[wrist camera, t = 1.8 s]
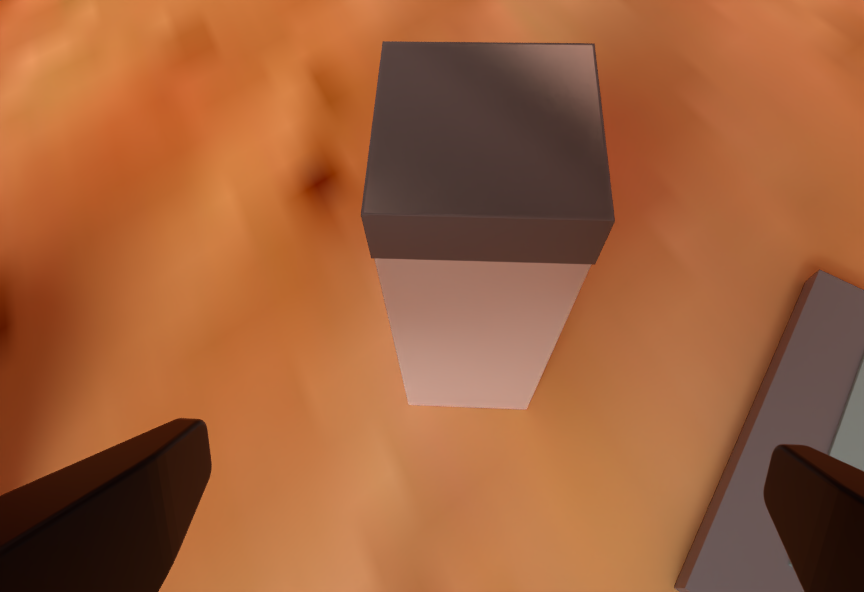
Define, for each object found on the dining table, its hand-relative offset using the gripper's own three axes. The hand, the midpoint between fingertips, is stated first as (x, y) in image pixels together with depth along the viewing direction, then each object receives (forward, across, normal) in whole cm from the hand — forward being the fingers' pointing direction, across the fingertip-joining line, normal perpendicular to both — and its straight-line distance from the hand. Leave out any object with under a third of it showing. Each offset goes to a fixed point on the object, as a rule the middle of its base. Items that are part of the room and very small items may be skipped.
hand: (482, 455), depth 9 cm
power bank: (+14, 0, +4) cm, 14 cm away
